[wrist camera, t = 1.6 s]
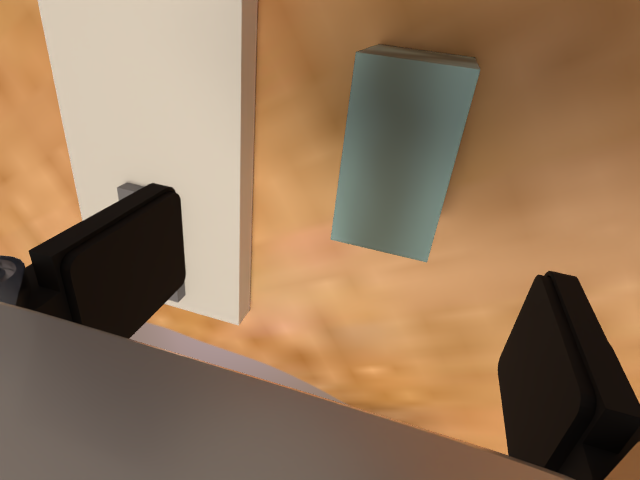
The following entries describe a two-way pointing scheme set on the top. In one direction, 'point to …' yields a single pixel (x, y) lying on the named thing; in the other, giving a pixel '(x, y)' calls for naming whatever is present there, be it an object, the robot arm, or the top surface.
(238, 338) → the top surface
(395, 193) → the block
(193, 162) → the board
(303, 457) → the robot arm
